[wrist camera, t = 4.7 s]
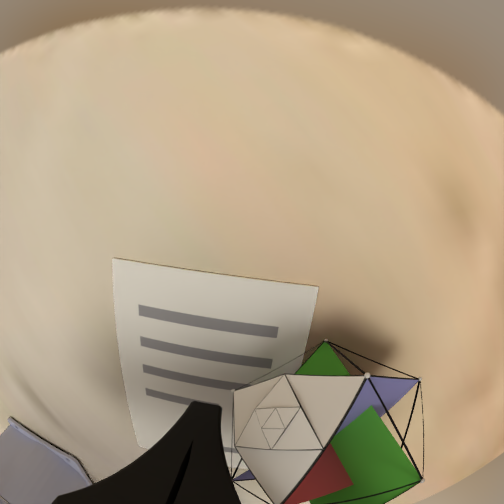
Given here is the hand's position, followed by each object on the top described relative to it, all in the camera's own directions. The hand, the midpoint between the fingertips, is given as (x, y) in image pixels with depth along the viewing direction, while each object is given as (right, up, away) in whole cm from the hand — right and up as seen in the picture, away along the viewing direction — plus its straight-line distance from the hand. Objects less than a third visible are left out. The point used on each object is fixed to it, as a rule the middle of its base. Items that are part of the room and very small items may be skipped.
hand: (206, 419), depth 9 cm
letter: (0, 0, +2) cm, 2 cm away
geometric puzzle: (+5, +1, +2) cm, 5 cm away
